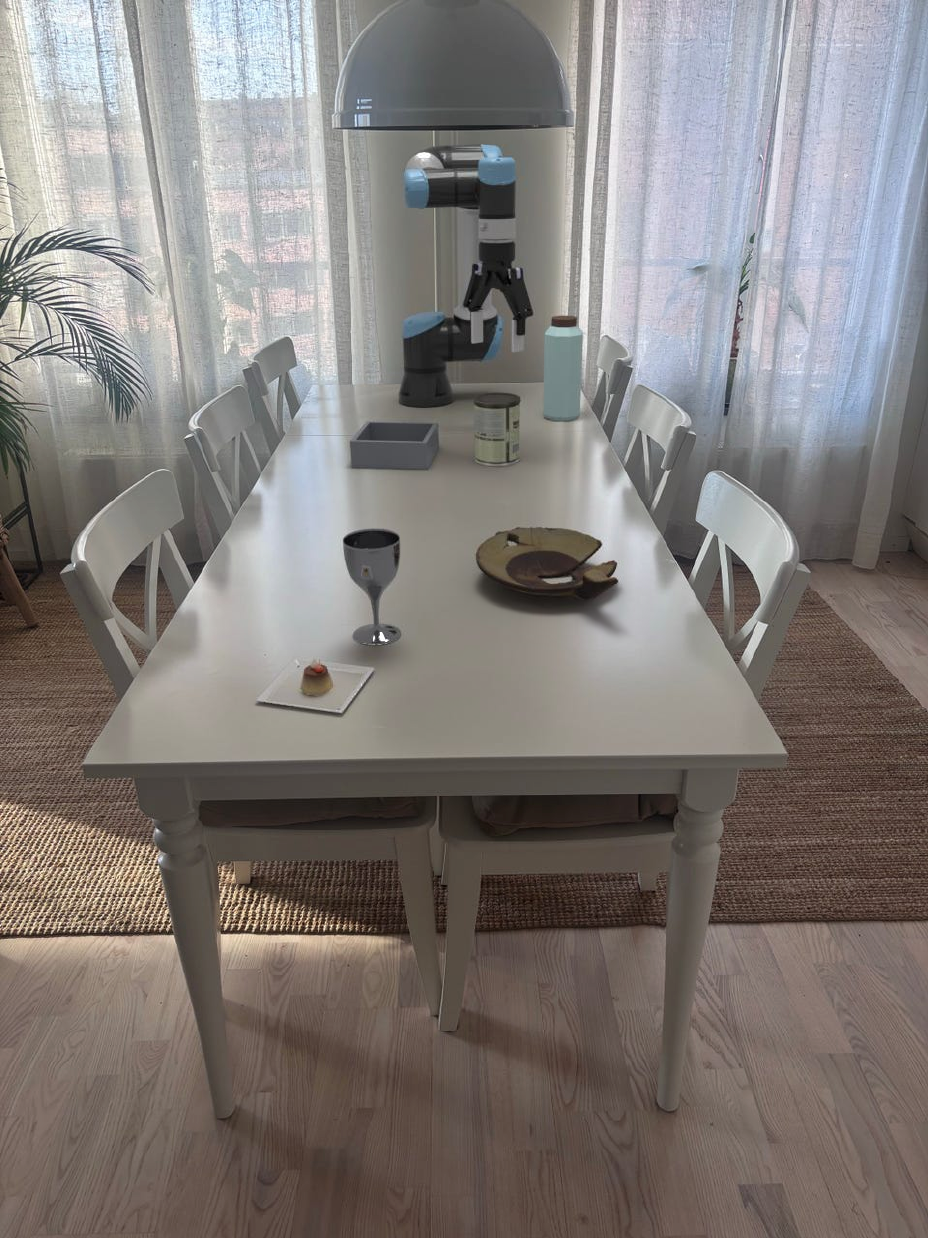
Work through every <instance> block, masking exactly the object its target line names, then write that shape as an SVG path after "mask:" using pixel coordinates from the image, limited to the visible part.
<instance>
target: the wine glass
mask: <svg viewBox="0 0 928 1238" xmlns="http://www.w3.org/2000/svg"><path fill="white" fill-rule="evenodd" d="M342 547H343V555H344V556H343V557H344V561H345V566H346V568H347V569H346V570H347V571H348V575H349V577H350V579H351V580H352V581H353V582H354V584H356V586H358V587H359V588H360V589H361V590H363V592H364V593H365V594H366V595H367V597H368V599H369V601H370V605H371V609H372V615H373V616H372V617H373V623H369V624H365V625H362V626H359V627H358V628H356V629H355V630H354V632H353V633H352V638H354V639H355V640H357V641H358V642H360V643H359V644H361V643H366V644H375V645H378V644H385V643H389V644H392V643H394V642H396V641H397V640H399V639H400V638H401V636H402V631H401V629H400V628H399V627H398V626H396V625H393V624H389V623H384V622H383V623H382V622H380V619H379V618H380V617H379V614H380V601H381V598H382V595H383V593H384V592H385V591H386V590H387V588H388V587H389V586H390V585H391V583H393V581H394V580H395V579H396V577H397V575H398V571H399V566H400V560H401V539H400V535H399V534H398V533H397V532H396V531H393V530H391V529H386V528H365V529H364V528H363V529H358V530H354V531H352V532H349V533H347V534H346V535H345V536H344V537H343V539H342ZM354 639H353V640H354ZM355 640H354V641H355ZM358 642H357V643H358ZM391 642H392V643H391ZM385 645H386V644H385ZM378 646H379V645H378Z"/></svg>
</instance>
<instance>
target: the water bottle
mask: <svg viewBox="0 0 928 1238" xmlns="http://www.w3.org/2000/svg"><path fill="white" fill-rule="evenodd" d="M577 323H578V316H575V315H555V316H552V317H551V323H550V326H549V327H548V328H547V330H546V331H545V332H544V348H543V349H544V353H543V354H544V356H543V357H544V358H543V362H544V363H543V399H542V400H543V402H542V403H543V406H542V407H543V408H542V414H543V416H544V418H545V419H547V420H550V421H553V422H570V421H574V420H577V419H578V417H579V416H580V412H581V396H582V395H581V394H582V393H581V391H582V389H581V388H582V368H583V367H582V364H583V363H582V362H583V345H584V344H583V340H584V335H583V334H584V331H583V330H582V329H581V328H580V327H579V326H578V325H577Z"/></svg>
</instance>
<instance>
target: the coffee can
mask: <svg viewBox="0 0 928 1238" xmlns="http://www.w3.org/2000/svg"><path fill="white" fill-rule="evenodd" d="M520 402H521V396H520V395H517V394H515V393H509V392H487V393H482V394H478V395H475V396H474V397H473V411H474V412H473V413H474V415H473V418H474V421H473V422H474V425H473V427H474V461H475V463H476V464H479V465H481V466H486V467H496V466H497V467H507V466H508V465H509V466H512V464H513V465H516V464H517V463H519V462H520V460H521V458H520V436H521V435H520V432H521V431H520V427H521V426H520V425H521V424H520V423H521V422H520V417H521V413H520V412H521V411H520V410H521V409H520V407H521V406H520V405H521V403H520ZM497 467H496V468H497Z"/></svg>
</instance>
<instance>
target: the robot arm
mask: <svg viewBox="0 0 928 1238" xmlns="http://www.w3.org/2000/svg"><path fill="white" fill-rule="evenodd" d="M516 168H517V167H516V161H515V159H514V158H513V157H503V153H502V150H501V149H500V147H499V146H497V145H494V144H492V145H491V144H490V145H489V144H482V143H480V144H458V145H457V144H456V145H455V144H453V145H446V144H445V145H436V146H435V145H434V146H430V147H426V148H424V149H421V150H420V151H418V152H416V153H414V154H413V155H411V156H410V158H409V159H408V160H407V162H406V164H405V167H404V171H403V193H404V194H403V195H404V196H403V197H404V205H405V206H406V207H407V208H410V209H419V210H421V209H439V208H441V209H442V208H455V209H457V211H458V212H459V214H458V216H459V217H458V221H459V222H458V223H459V225H458V227H459V229H458V230H459V231H458V232H459V233H458V234H459V236H458V237H459V239H458V240H459V245H458V247H459V248H458V249H459V250H458V252H459V255H458V257H459V269H458V270H459V272H458V273H459V274H458V275H459V276H458V278H459V279H458V280H459V281H458V282H459V283H458V284H459V285H458V286H459V287H458V288H459V289H458V290H459V295H458V298H459V299H458V301H459V302H458V303H459V304H458V305H457V306H456V307H455V308H454V310H453V317H447V314H446V313H445V312H444V311H428V312H426V311H425V312H422V313H421V312H420V313H417V314H413V315H411V316H410V315H409V316H408V317H406V318H405V319H404V320H403V323H402V334H401V339H402V347H403V348H402V351H403V376H402V379H401V384H400V387H399V390H398V402H399V404H402V405H405V406H408V407H415V408H423V407H424V408H429V407H430V408H432V407H441V406H445V405H448V404H451V403H453V401H454V391H453V388H452V385H451V381H450V379H449V376H448V373H447V363H456V362H457V363H458V362H460V363H461V362H463V363H464V362H480V363H482V362H487V361H494V360H495V359H497V357H498V356H499V354H500V350H501V346H502V339H503V327H504V326H503V324H504V323H503V318H502V316H500V315H498V311H497V310H498V309H496V307H494V305H493V304H492V301H493V299H492V296H493V289H494V290H499V291H500V293H502V294H503V296H504V298H505V300H506V303H507V305H508V307H509V309H510V311H511V313H512V315H513V318H511V352H512V353H518V352H524V349H525V335H526V319H528V318H530V317H533V316H534V311H533V308H532V305H531V304H532V303H531V299H530V297H529V293H528V290H527V286H526V282H525V280H524V269H523V267H513V265H512V264H513V262H514V261H515V259H516V242H515V241H513V240H515V239H516V237H517V236H516V235H517V233H516V231H517V230H516V229H517V227H516V225H517V224H516V220H517V219H516V188H517V187H516V186H517V179H518V177H517V170H516Z"/></svg>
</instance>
